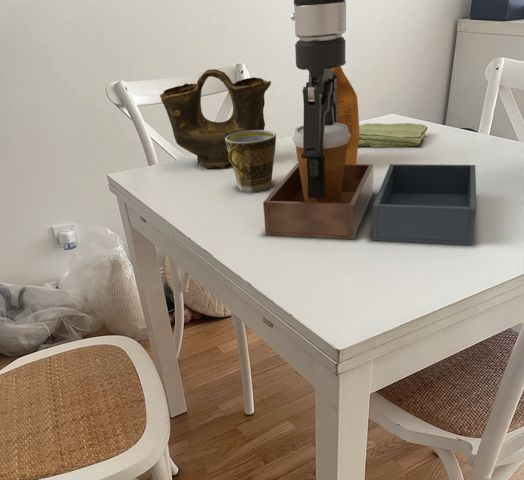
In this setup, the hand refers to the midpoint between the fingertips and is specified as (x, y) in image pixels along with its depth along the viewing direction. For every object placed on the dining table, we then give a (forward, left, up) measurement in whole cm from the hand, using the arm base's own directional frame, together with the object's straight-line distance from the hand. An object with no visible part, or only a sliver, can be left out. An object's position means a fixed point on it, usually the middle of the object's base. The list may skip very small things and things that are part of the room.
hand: (322, 188), depth 93 cm
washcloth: (-6, -50, -5) cm, 51 cm away
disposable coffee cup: (0, 0, -2) cm, 2 cm away
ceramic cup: (+17, -12, -5) cm, 22 cm away
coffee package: (+3, -29, -5) cm, 30 cm away
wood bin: (0, 0, -5) cm, 5 cm away
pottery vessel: (+30, -30, -5) cm, 43 cm away
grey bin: (-18, 0, -5) cm, 18 cm away
